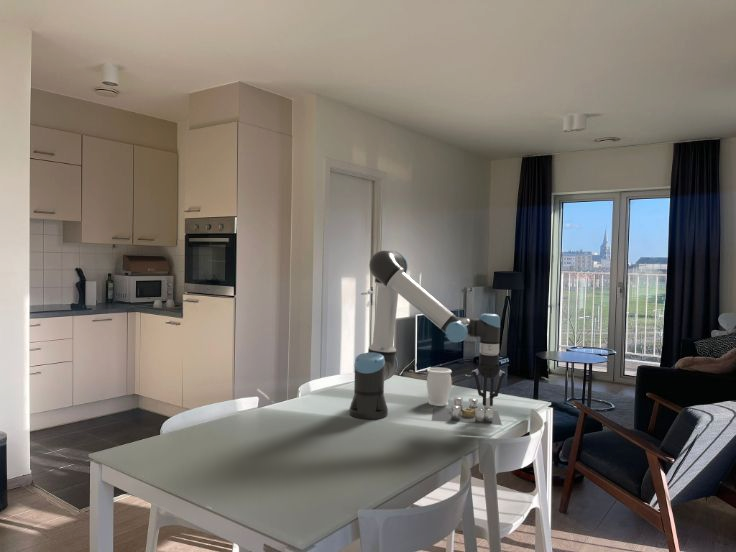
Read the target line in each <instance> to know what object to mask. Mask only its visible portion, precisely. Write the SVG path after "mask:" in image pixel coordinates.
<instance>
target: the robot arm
mask: <svg viewBox="0 0 736 552" xmlns="http://www.w3.org/2000/svg"><path fill="white" fill-rule="evenodd" d="M368 265H369V266H368V267H369V271H370V272H371V275H372V276H373V277H374V283H375V284H376V286H377V295H376V303H375V304H376V305H375V316H374V326H373V327H374V328H373V337H372V344H371V345H370V346H368V351H367V352H365V353H360V354H358V355H357V356H356V357H355V361H354V386H353V387H354V389H353V390H354V394H353V397H352V401H351V402H350V406H349V415H350V416H351V417H354V418H357V419H363V420H377V419H383V418H385V417H388V413H389V409H388V408H389V407H388V405H387V401H386V399H385V393H384V392H385V390H384V389H385V381H387V380H389V379H391V378H392V377H394V375H395V374H396V372H397V370H398V366H399V365H398V364H399V362H398V359H397V357H396V355H397V349H396V347H395V346H394V340H395V330H396V329H395V328H396V321H397V320H396V318H397V308H398V301H399V300H398V298H399V295H400V296H401V297H402V298H403V299H405V301H407V302H408V303H409V304H410V305H411V306H413V307H414V309H416V310H417V311H419V312H420V313H421V314H422V315H423V316H425V317H426V319H428V320H430V321H431V323H433V324H434V325H435V326H436V327H438V329H440V330H441V331H442V332H443V333H444V334H445V337H446V338H447V339H448V340H449V341H450V342H453V343H460V342H462V341H464V340H466V339H467V338H475V339H478V338H479V349H478V350H479V355H478V359H479V360H478V365H477V368H476V369H472V371H471V373H472V375H473V377H474V380H475V385H476V390H477V393H478V396H480V397H482V406H483V407H484V406H485V407H488V408H490V406H492V405H493V406H494V398H496V397H498V396H499V392H500V390H501V386H502V382H503V379H504V378H505V376H506V373H505V371H503V370H501V368H500V365H499V364H500V363H499V362H500V356H499V355H500V337H501V318H500V316H499V314H496V313H481V314H480V318H473V317H472V318H470V317H460V316H458V317H457V316H456V315H455V314H454V313H453V312H451V310H450V309H448V308H447V306H445V305H443V304H442V303H441V302H440V301H438V300H437V299H436V298H435V297H434V296H433V295H431V293H429V292H428V291H427V290H425V288H423V287H422V286H421V285H419V284H418V283H417V282H416V281H415V280H414V279H412V278H411V277H410V276H409V275H408V274H406V273H407V271H408V260H407V258H405V256H404V255H403V254H402V253H400V252H398V251H395V250H379V251H377V252H376V253H374V254H373V255H372V256H371V258H370V260H369V264H368ZM479 373H480V375H481V376H482V380H483V381H482V382H483V383H482V389H481V384H480V380H479ZM497 374H498V379H497V381H496V382H497V383H496V387H495V390H494V381H495V377H496V376H497ZM488 379H489V396H487V388H488V387H487V386H488V383H487V382H488Z"/></svg>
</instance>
